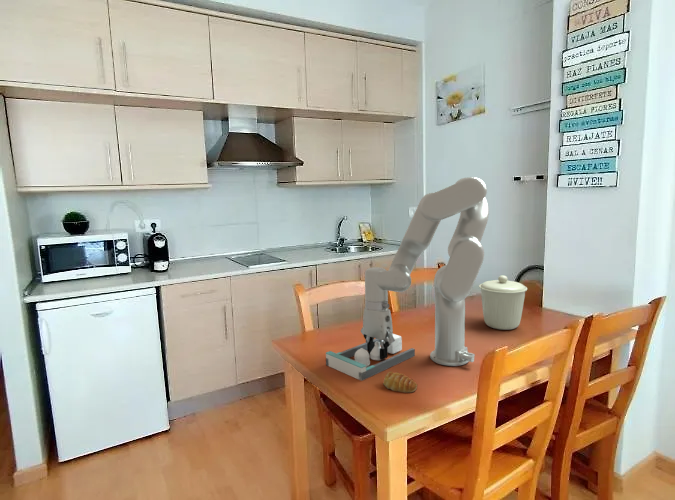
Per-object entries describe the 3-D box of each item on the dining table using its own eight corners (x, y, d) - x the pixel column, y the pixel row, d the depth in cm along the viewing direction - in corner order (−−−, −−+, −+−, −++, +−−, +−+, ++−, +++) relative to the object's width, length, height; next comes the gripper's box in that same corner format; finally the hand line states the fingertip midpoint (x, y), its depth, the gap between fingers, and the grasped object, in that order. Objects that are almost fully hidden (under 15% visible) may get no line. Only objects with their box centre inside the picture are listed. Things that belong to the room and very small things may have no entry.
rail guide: (414, 355, 141) (414, 343, 140) (361, 380, 124) (361, 367, 123) (379, 343, 153) (378, 332, 152) (326, 365, 136) (325, 352, 135)
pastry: (420, 387, 119) (420, 374, 118) (411, 397, 114) (411, 384, 113) (391, 379, 124) (391, 367, 124) (381, 388, 119) (380, 376, 118)
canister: (536, 329, 163) (538, 277, 160) (500, 336, 157) (501, 282, 154) (502, 316, 180) (503, 269, 177) (469, 322, 173) (469, 273, 170)
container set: (390, 347, 149) (390, 332, 148) (402, 351, 145) (402, 336, 144) (350, 363, 136) (350, 348, 135) (362, 368, 132) (361, 352, 131)
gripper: (403, 307, 134) (404, 360, 136) (366, 298, 146) (367, 346, 149) (388, 312, 129) (389, 367, 131) (350, 302, 141) (352, 352, 144)
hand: (377, 355), depth 140 cm, fingers closed on container set, 5 cm apart
